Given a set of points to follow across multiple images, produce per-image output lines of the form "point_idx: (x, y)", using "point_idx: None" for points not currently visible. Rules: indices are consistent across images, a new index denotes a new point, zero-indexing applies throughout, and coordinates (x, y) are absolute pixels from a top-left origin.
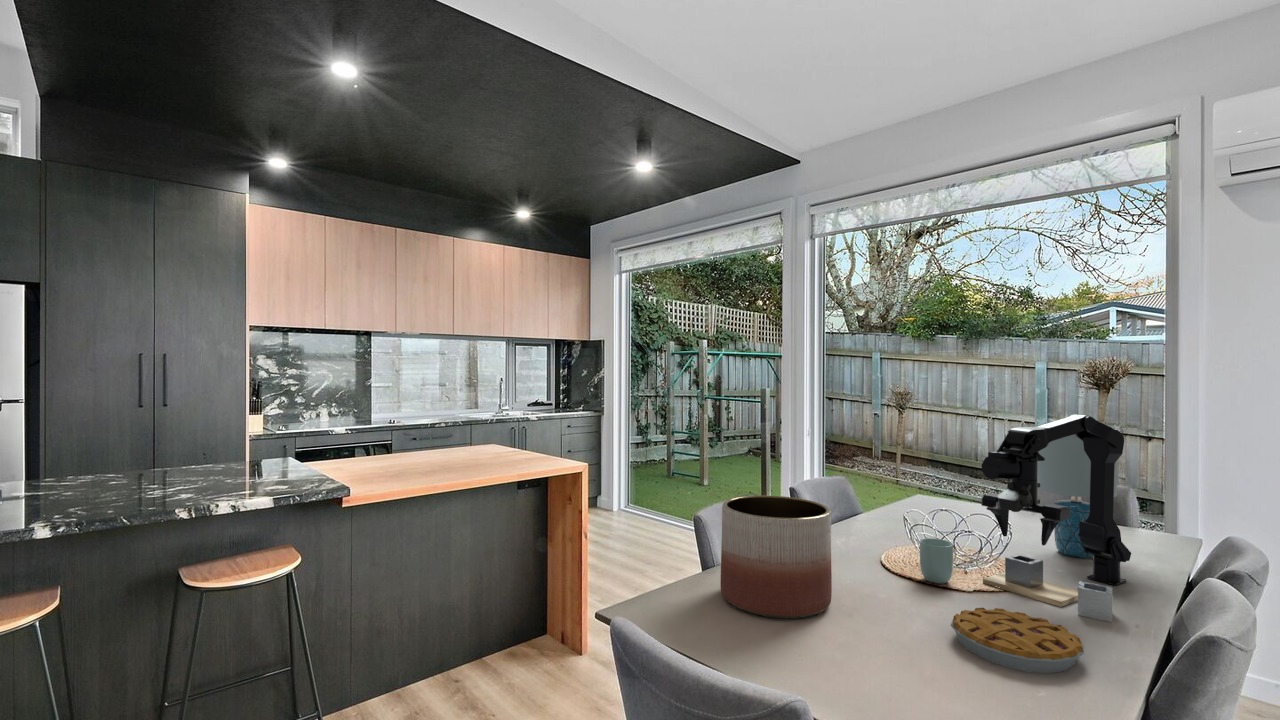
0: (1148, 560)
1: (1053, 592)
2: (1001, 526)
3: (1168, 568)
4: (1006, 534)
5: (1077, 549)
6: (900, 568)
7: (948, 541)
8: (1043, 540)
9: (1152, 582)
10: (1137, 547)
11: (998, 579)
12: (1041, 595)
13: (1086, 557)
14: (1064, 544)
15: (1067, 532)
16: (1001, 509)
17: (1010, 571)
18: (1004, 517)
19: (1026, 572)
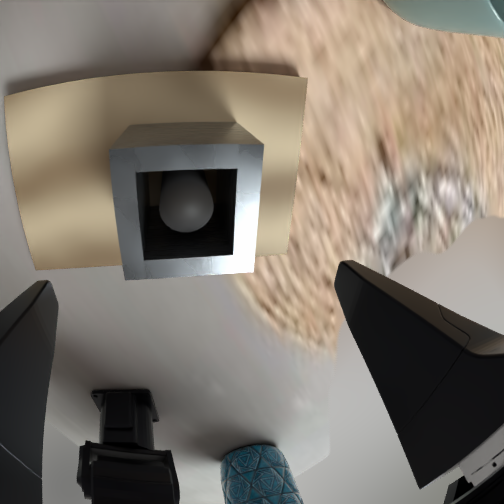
0: None
1: (65, 168)
2: (401, 294)
3: None
4: (339, 289)
5: (240, 461)
6: (487, 41)
7: (500, 18)
8: (18, 299)
9: (95, 437)
10: (216, 495)
11: (264, 120)
12: (66, 88)
13: (227, 454)
14: (263, 460)
15: (263, 483)
16: (493, 426)
17: (221, 130)
18: (423, 387)
19: (138, 135)
